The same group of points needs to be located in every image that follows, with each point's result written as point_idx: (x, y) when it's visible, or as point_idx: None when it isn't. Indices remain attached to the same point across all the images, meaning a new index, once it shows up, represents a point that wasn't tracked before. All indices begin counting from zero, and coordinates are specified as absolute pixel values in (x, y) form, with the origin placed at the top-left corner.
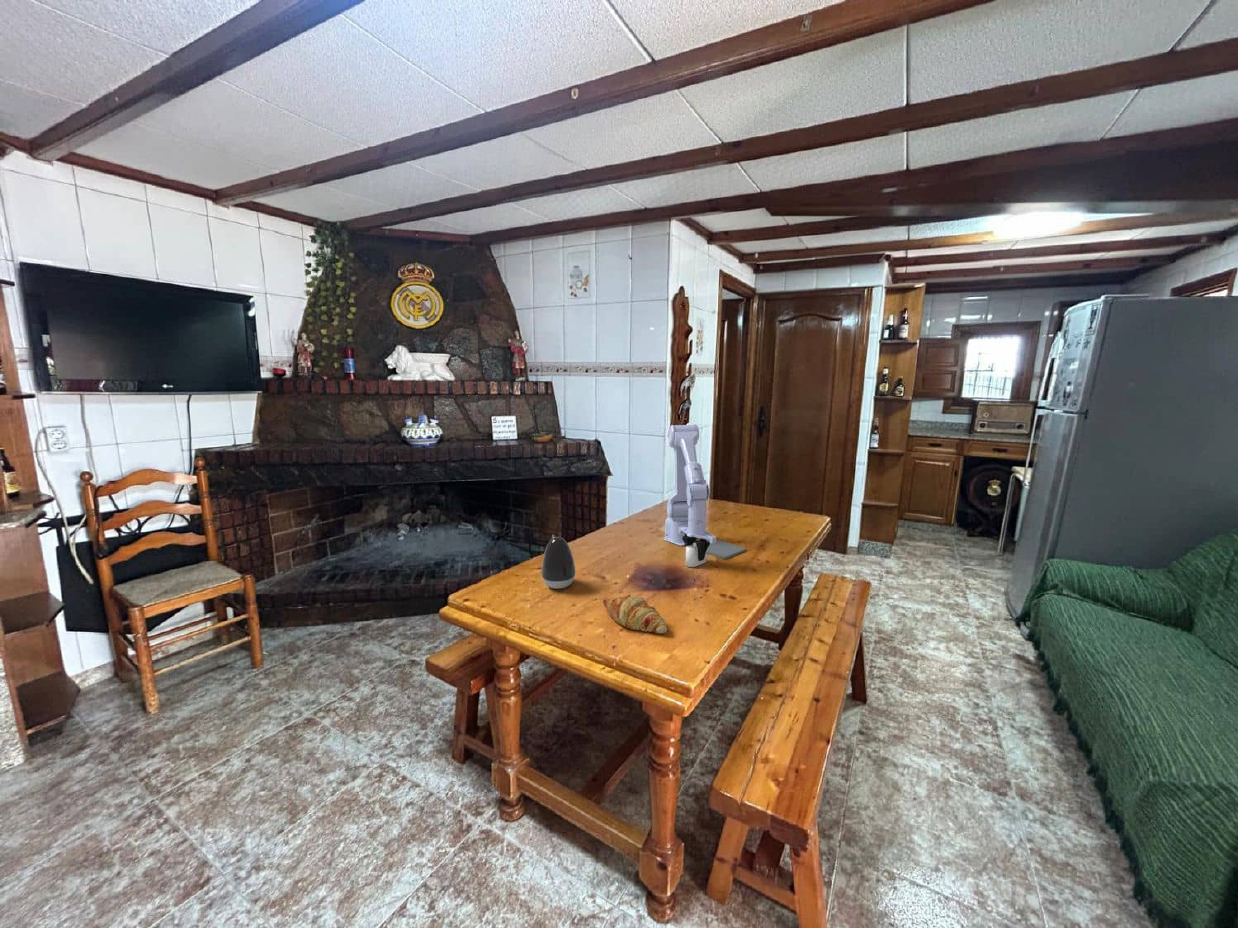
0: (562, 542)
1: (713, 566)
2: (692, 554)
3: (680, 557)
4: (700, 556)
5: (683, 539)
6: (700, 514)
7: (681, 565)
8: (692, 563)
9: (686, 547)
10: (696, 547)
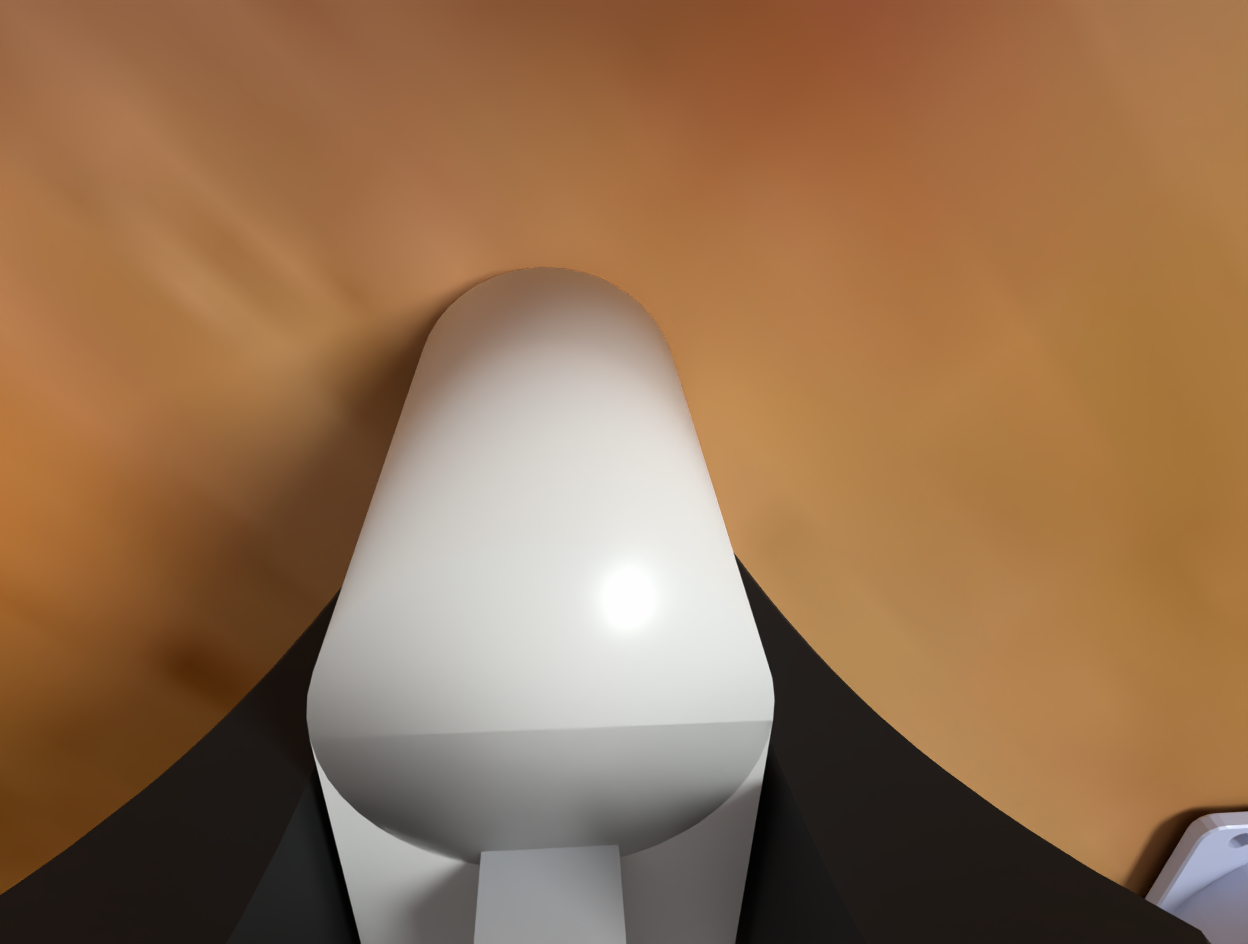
0: None
1: (252, 654)
2: (376, 497)
3: (987, 527)
4: (311, 640)
5: (1112, 934)
6: None
7: (724, 238)
8: (425, 361)
9: (710, 617)
10: (437, 839)
